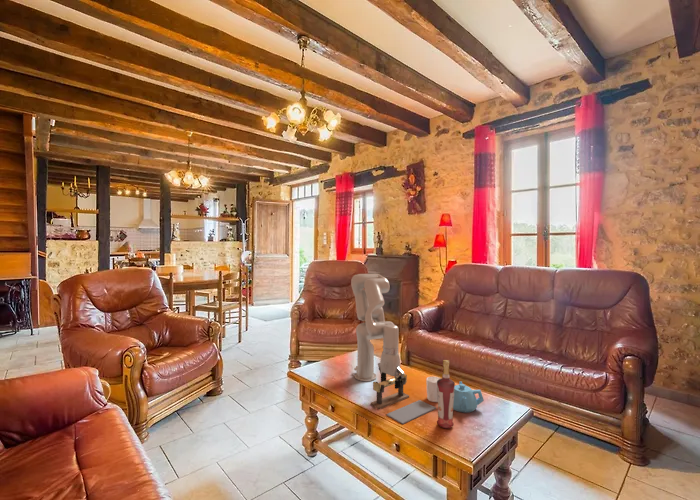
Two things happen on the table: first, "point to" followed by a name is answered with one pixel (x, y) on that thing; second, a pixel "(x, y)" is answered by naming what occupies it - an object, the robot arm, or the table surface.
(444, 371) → the liquor
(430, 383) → the white cup
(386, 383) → the rail
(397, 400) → the rack
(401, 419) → the mat
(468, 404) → the teapot
